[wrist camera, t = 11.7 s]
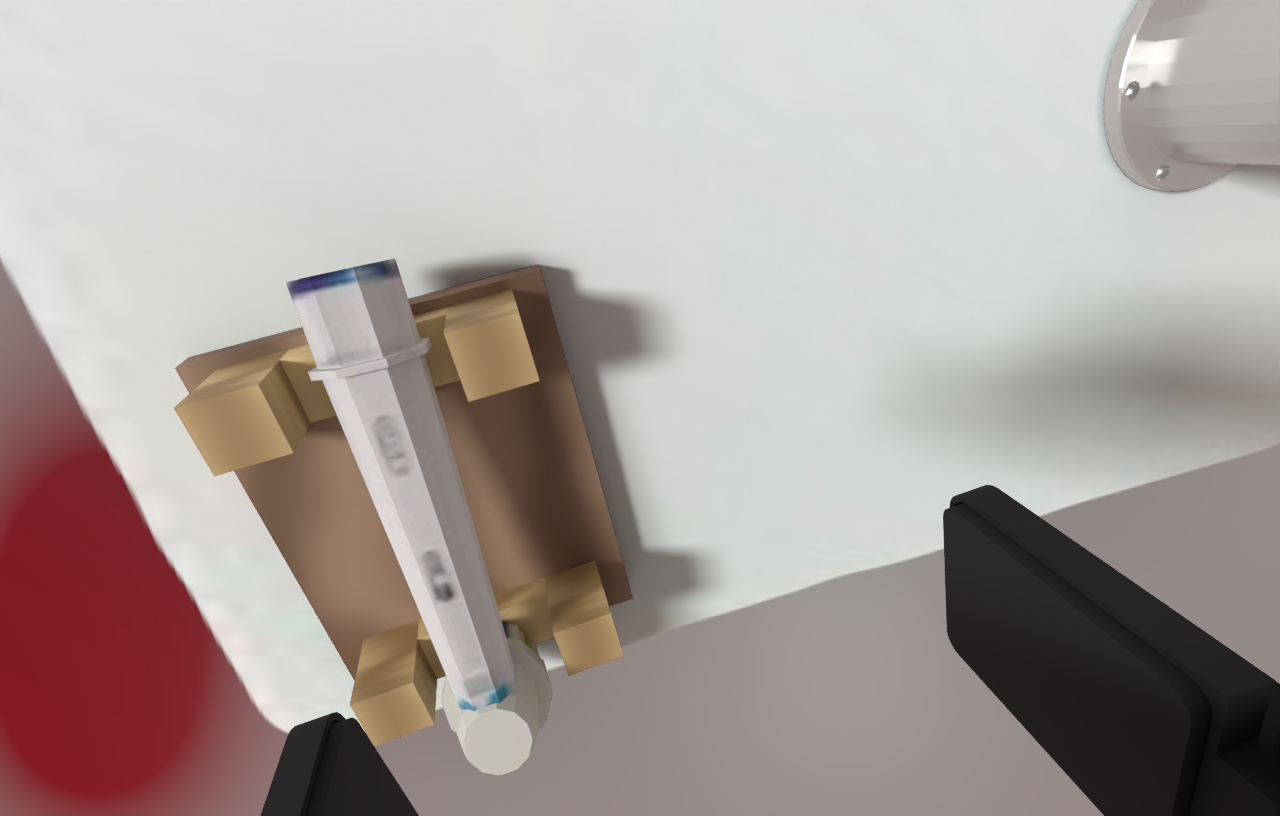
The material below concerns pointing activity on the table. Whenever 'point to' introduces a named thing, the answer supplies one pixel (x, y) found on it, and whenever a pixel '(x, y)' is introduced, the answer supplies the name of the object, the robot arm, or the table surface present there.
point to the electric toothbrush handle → (423, 505)
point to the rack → (490, 474)
